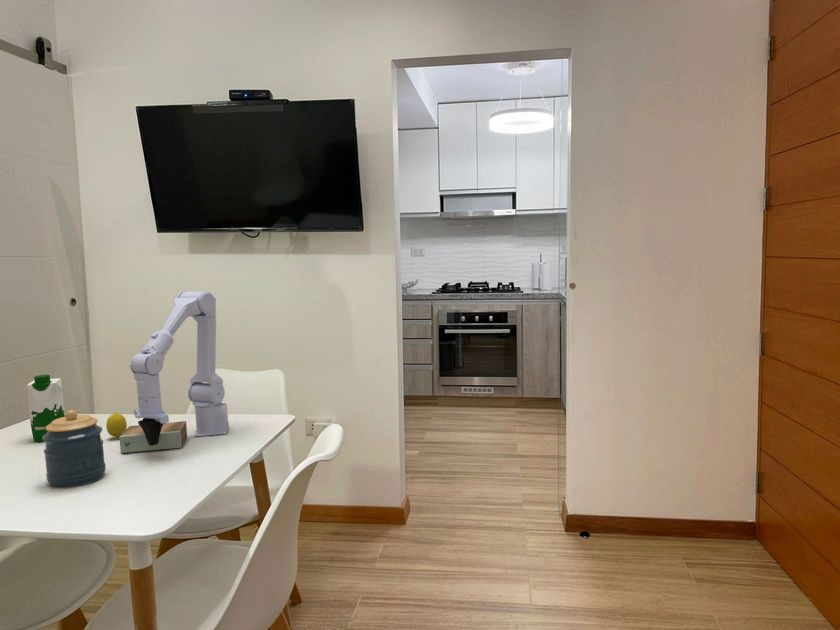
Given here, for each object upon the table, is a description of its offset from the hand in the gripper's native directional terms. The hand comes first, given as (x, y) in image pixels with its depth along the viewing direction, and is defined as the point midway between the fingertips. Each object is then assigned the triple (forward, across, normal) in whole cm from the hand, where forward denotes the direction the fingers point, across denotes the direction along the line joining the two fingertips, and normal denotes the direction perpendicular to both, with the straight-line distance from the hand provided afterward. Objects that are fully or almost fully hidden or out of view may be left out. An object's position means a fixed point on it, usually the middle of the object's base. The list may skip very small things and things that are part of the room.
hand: (153, 444), depth 167 cm
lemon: (+3, -25, +2) cm, 26 cm away
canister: (+3, 0, -20) cm, 21 cm away
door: (+3, -4, +1) cm, 5 cm away
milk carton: (+3, -44, -9) cm, 45 cm away
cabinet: (+3, -9, +5) cm, 11 cm away
